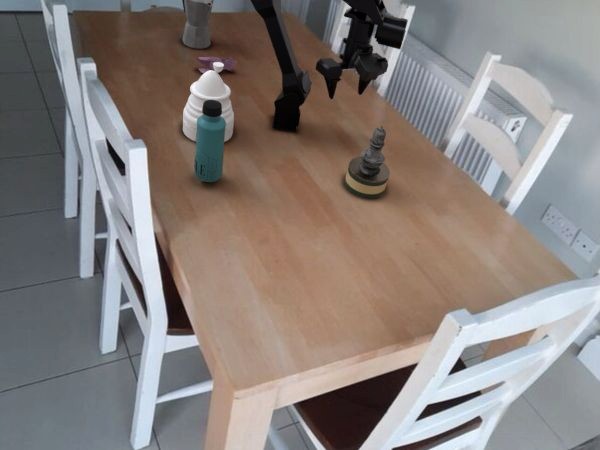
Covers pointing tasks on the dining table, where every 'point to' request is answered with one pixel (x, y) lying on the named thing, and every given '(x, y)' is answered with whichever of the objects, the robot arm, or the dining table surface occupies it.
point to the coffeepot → (197, 23)
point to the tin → (366, 180)
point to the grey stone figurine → (373, 153)
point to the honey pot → (202, 91)
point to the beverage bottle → (210, 142)
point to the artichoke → (210, 60)
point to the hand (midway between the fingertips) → (345, 96)
